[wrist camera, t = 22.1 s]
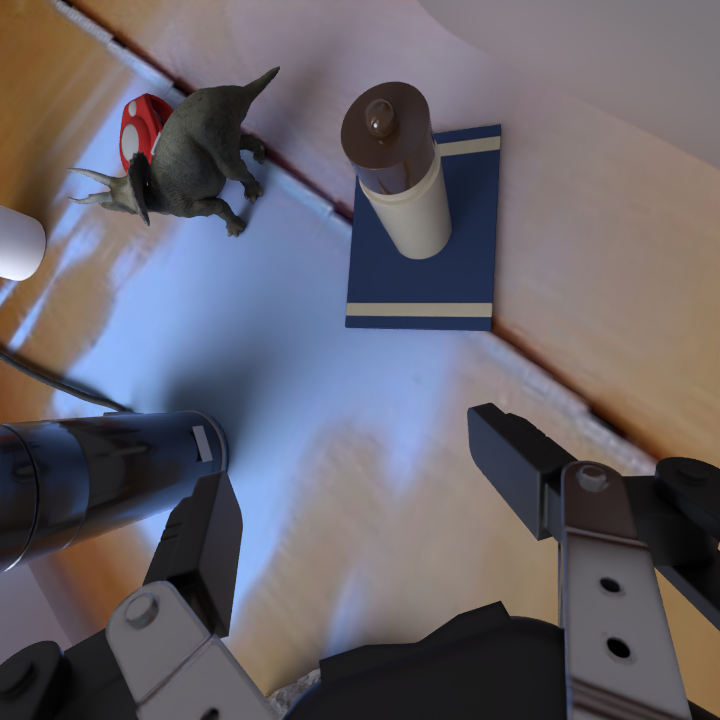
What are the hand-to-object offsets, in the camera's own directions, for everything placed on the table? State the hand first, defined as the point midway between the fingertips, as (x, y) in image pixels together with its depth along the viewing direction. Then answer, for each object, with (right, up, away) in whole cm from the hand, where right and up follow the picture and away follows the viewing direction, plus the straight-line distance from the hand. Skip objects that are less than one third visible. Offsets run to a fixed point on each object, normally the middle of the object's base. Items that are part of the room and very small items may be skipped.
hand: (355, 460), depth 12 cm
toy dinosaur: (-13, +22, +29) cm, 38 cm away
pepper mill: (+6, +15, +21) cm, 27 cm away
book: (+6, +15, +22) cm, 27 cm away
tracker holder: (-23, +28, +33) cm, 49 cm away
